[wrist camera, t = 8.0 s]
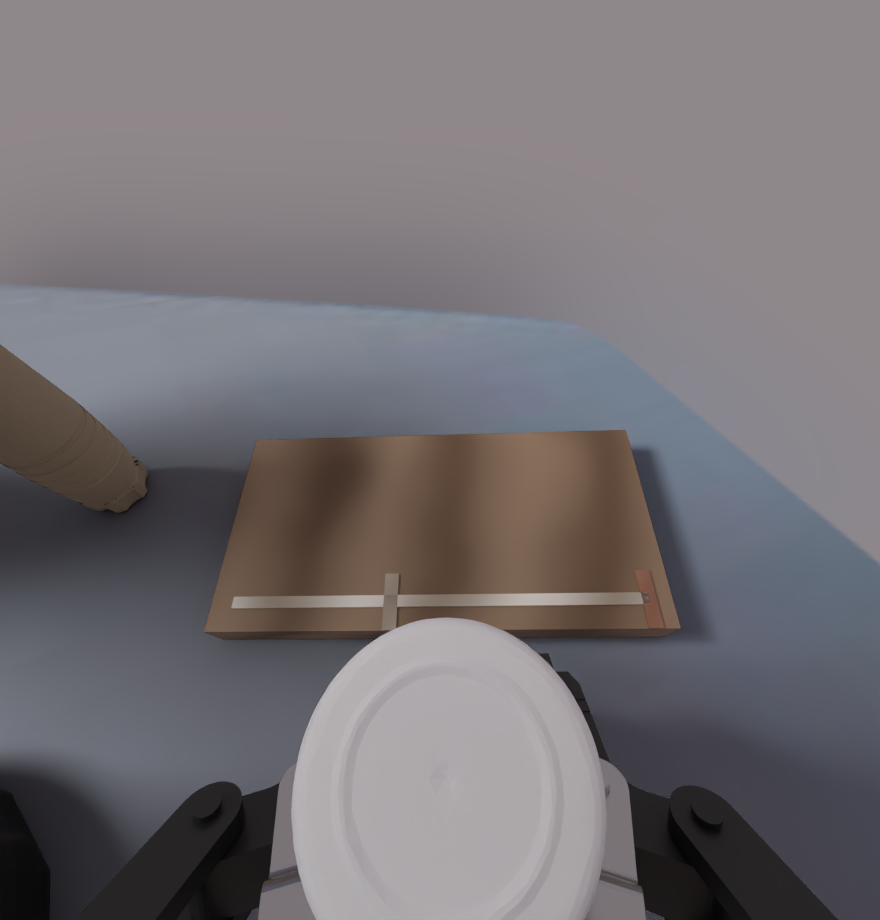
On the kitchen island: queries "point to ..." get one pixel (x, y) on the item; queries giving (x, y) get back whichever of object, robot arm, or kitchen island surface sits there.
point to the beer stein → (21, 867)
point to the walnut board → (443, 538)
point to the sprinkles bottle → (448, 784)
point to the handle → (62, 442)
